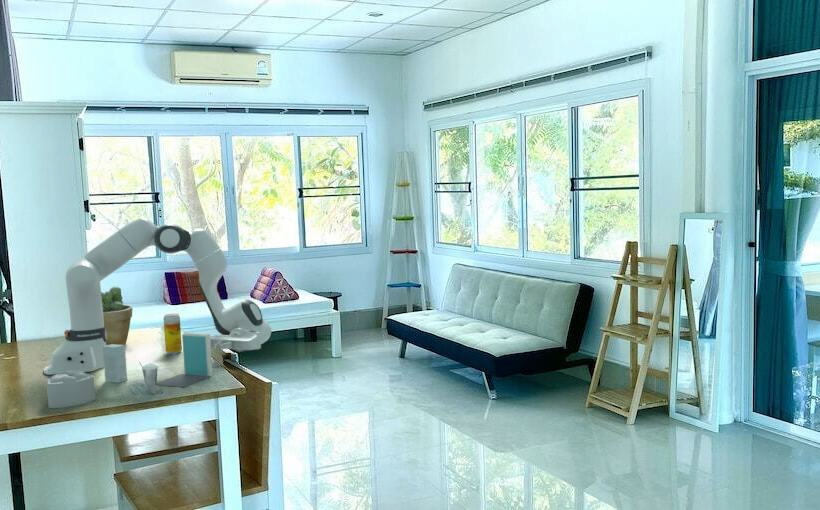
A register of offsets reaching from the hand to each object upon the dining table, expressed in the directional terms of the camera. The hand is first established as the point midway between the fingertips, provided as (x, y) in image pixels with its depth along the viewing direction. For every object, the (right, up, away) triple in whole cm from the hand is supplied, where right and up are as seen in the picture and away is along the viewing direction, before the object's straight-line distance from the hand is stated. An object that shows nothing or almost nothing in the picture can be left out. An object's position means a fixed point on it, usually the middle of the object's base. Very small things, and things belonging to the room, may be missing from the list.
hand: (218, 347), depth 264 cm
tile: (-4, -8, -10) cm, 14 cm away
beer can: (-24, -6, +27) cm, 37 cm away
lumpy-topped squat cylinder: (-35, -12, -38) cm, 53 cm away
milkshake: (-13, -11, -32) cm, 36 cm away
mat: (-7, -9, -18) cm, 22 cm away
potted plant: (-56, -5, +45) cm, 72 cm away
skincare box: (-30, -10, -15) cm, 35 cm away
